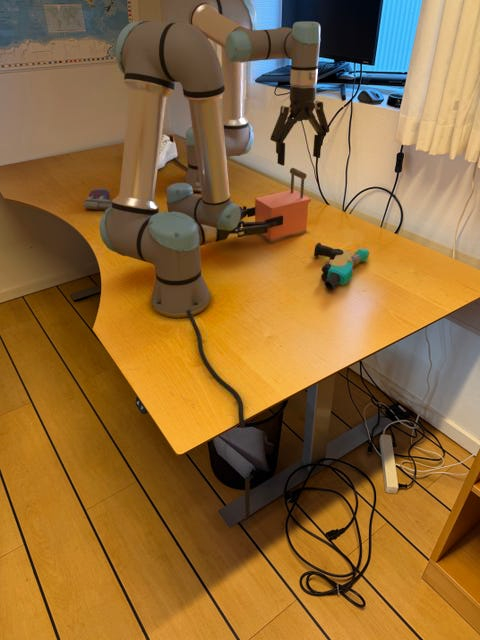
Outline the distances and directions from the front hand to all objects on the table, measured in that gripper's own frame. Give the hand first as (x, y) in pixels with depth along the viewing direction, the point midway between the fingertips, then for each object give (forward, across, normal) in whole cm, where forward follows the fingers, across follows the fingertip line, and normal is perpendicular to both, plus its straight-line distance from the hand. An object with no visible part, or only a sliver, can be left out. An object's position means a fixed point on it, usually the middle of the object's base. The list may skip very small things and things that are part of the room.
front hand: (273, 214), depth 154 cm
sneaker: (-5, -88, -7) cm, 88 cm away
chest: (+3, 0, -7) cm, 8 cm away
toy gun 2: (+1, +30, -7) cm, 31 cm away
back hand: (+9, 0, +16) cm, 18 cm away
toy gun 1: (-39, -52, -7) cm, 65 cm away
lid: (+4, 0, +4) cm, 5 cm away
